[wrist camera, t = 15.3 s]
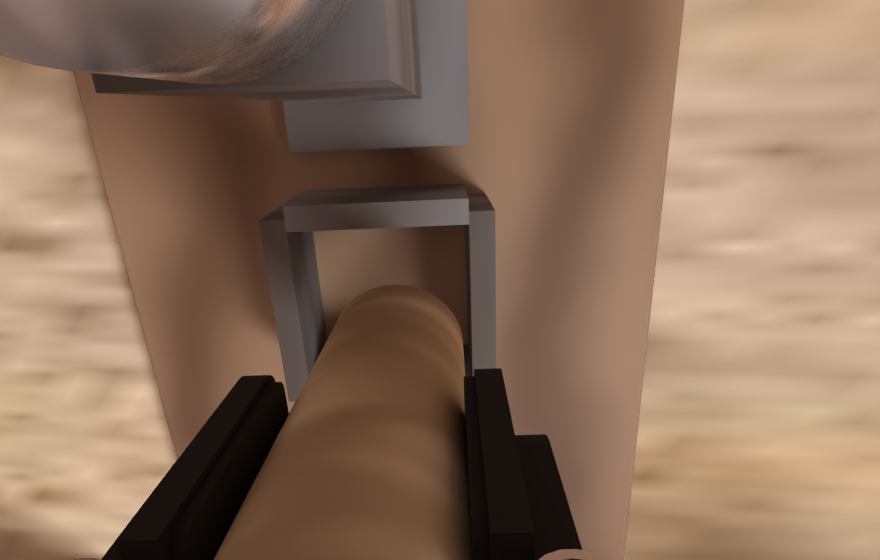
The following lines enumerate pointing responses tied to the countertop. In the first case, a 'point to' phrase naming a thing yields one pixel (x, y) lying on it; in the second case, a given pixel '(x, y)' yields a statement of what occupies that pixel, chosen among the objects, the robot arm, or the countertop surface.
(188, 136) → the eye board
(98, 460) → the countertop surface
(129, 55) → the locking bar
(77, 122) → the countertop surface
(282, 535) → the oak peg
